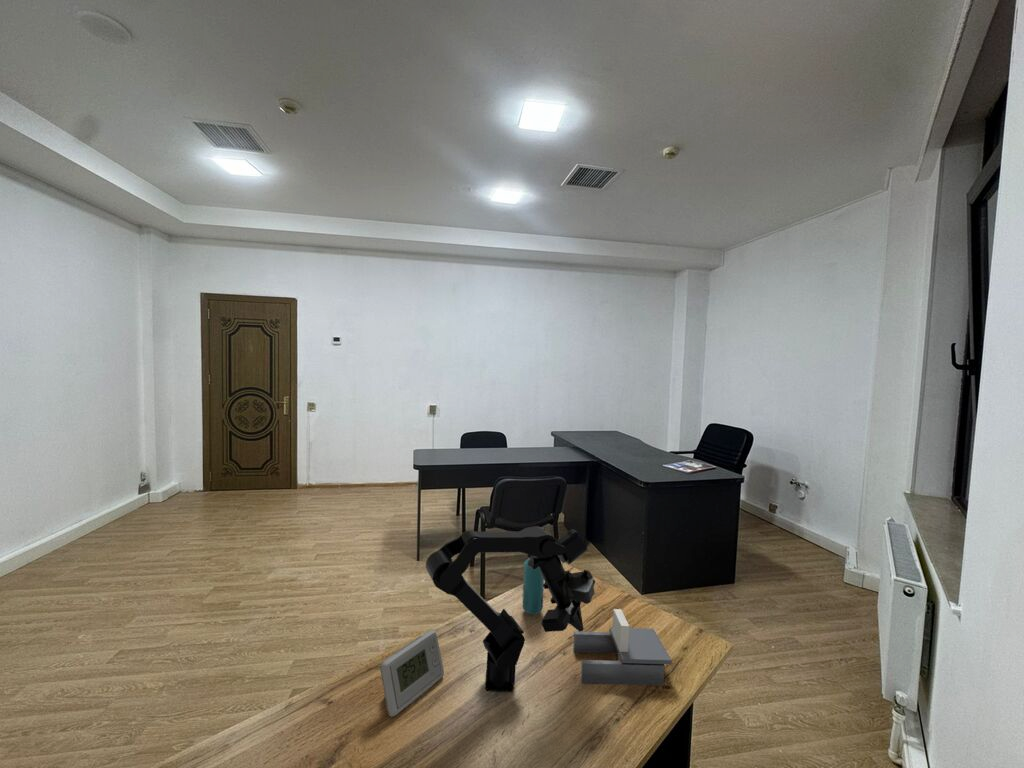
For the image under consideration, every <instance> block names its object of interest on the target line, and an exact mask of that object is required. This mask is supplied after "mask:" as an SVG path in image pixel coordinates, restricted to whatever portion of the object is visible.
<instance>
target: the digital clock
mask: <svg viewBox="0 0 1024 768" xmlns="http://www.w3.org/2000/svg"><path fill="white" fill-rule="evenodd" d="M379 668H380V676H381V681H382V687H383V693H384V699H385V704H386V710H387V714H388V716H389V717H391V718H393V717H395V716H396V715H398V714H399V713H400V712H402V710H405V709H406V708H407V707H409V706H410V705H411V704H412V703H413V702H415V701H416V700H417V699H418V698H420V697H421V696H422V695H424V693H426V691H428V690H429V689H430V688H431V687H433V686H434V684H436V683H437V682H438V681H439V680H440V679H441V678H443V677H444V674H445V670H444V665H443V659H442V654H441V649H440V643H439V639H438V635H437V631H436V629H433V628H432V629H430V630H428V631H426V632H424V633H423V634H422V635H419V636H417V637H416V638H414V639H412V641H409V643H407V644H406V645H404V646H402V647H401V648H399V649H398V650H396V651H395V652H394V653H393V654H392V655H390V656H389V657H387V658H385V659H384V660H383V661H382V662H381V663H380V667H379ZM409 704H410V705H409ZM408 705H409V706H408ZM405 707H406V708H405ZM404 708H405V709H404Z"/></svg>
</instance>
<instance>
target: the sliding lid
mask: <svg viewBox="0 0 1024 768" xmlns="http://www.w3.org/2000/svg"><path fill="white" fill-rule="evenodd" d="M612 616H613V617H612V627H609V632H610V633H611V636H612V638H613V641H614V643H615V646H616V648H617V651H618V653H619V656H620V658H621V661H622V663H644V664H664V665H672V661H673V660H672V659H671V657H670V655H669V653H668V652H667V650H666V648H665V646H664V645H663V643H662V641H661V640H660V637H659V636H658V633H657V632H656V631H655V629H654V628H642V627H641V628H640V627H639V628H638V627H630V624H629V623H628V621H627V618H626V616H625V614H624V613H623V611H622V609H621V608H619V609H617V608H613V612H612Z"/></svg>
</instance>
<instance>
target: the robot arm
mask: <svg viewBox="0 0 1024 768" xmlns="http://www.w3.org/2000/svg"><path fill="white" fill-rule="evenodd" d="M587 552H588V546H587V544H586V543H585V541H584V540H583V538H582V537H581V536H580V535H579V533H578V531H577V530H576V529H574V528H572V529H570V530H569V531H568V532H567V533H566V534H564V535H563V536H561V537H559V539H556V538H555V537H554V536H553V535H552V534H550V533H549V532H547V531H546V530H545V529H544V528H542V527H541V526H538V525H537V526H536V525H535V526H534V525H533V526H529V527H524V528H523V529H521V530H519V531H474V530H470V529H469V530H465V531H464V532H463V533H462V534H461V535H459V536H458V537H457V538H454V539H453V540H450V541H448V542H446V543H445V544H443V545H442V546H441V547H440V548H439V549H437V551H434V552H433V553H431V554H430V555H429V557H427V560H426V562H425V569H426V571H427V573H428V576H429V577H430V579H431V581H432V583H433V585H434V586H435V587H436V588H437V589H438V590H440V591H442V592H444V593H445V594H447V595H450V596H453V597H455V598H456V599H457V600H458V601H459V602H460V603H461V604H462V605H463V606H464V607H466V608H467V609H468V611H469V612H470V613H471V614H472V615H473V616H475V618H476V619H477V620H479V622H480V623H481V624H482V625H483V626H485V628H486V629H487V630H489V632H488V634H487V635H486V636H485V637H484V638H483V640H482V643H483V647H484V649H486V651H487V652H486V653H487V654H486V655H487V656H486V669H485V683H484V690H485V692H508V693H509V692H513V691H514V684H515V683H516V666H517V664H518V663H519V659H520V656H521V653H522V650H523V647H524V645H525V641H526V638H525V636H524V632H525V630H523V628H522V627H521V626H520V625H519V623H518V622H517V621H516V620H515V618H514V617H513V616H512V615H510V614H509V612H508V611H506V609H505V608H503V609H502V610H501V612H498V611H496V610H495V609H494V608H493V607H492V606H491V605H490V604H489V603H488V602H487V600H486V599H485V598H483V597H482V595H480V594H479V592H478V591H476V589H475V588H474V587H473V586H472V585H471V584H470V583H469V582H467V580H466V578H464V576H463V574H464V573H465V572H466V571H467V569H468V568H469V566H470V565H471V562H473V559H474V558H475V557H476V556H477V555H479V554H481V553H482V554H484V553H485V554H487V553H488V554H491V553H492V554H493V553H498V554H499V553H521V554H522V553H523V554H526V555H527V556H528V555H531V556H530V560H529V563H528V566H529V567H530V568H532V569H536V568H537V567H538V568H539V570H540V572H541V574H542V576H543V578H544V585H543V589H544V590H547V589H548V591H549V592H550V595H551V597H550V603H551V604H556V606H555V608H554V609H548V610H547V611H546V613H545V614H544V616H543V618H542V620H541V623H540V624H541V626H542V629H543V630H544V632H545V633H551V632H552V633H553V632H563V631H565V630H566V629H567V628H568V625H569V626H570V625H571V627H573V628H574V629H575V630H577V631H579V632H584V622H583V618H582V617H583V616H582V610H581V609H582V608H581V605H582V603H583V604H586V605H588V604H590V603H591V602H592V599H593V597H594V596H595V594H596V593H595V584H596V580H595V579H594V576H593V574H592V573H591V571H590V570H587V569H584V570H583V571H577V572H571V571H570V570H565V568H564V566H563V564H564V563H567V564H568V565H570V564H572V563H573V562H574V561H576V560H577V559H578V558H580V557H581V556H582V555H583V556H584V554H585V553H587ZM454 556H457V557H456V558H455V559H454V560H453V559H452V558H453V557H454ZM562 563H563V564H562Z"/></svg>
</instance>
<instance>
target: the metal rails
mask: <svg viewBox="0 0 1024 768" xmlns="http://www.w3.org/2000/svg"><path fill="white" fill-rule="evenodd" d="M572 642H573V643H572V645H573V646H572V651H573V653H581V654H582V653H583V654H587V653H588V654H616V655H618V651H617V648H616V646H615V643H614V641H613V638H612V636H611V633H610V631H609V632H608V631H607V632H606V631H605V632H604V631H578V630H577V631H576V630H575V631H573V641H572ZM580 666H581V669H580V670H581V671H580V683H581V684H582V685H583V684H584V685H585V684H587V685H588V684H590V685H623V686H624V685H625V686H628V685H629V686H661V687H664V684H665V683H664V681H665V680H664V679H665V667H666V666H665V664H644V663H622V661H618V660H603V659H602V660H601V659H600V660H596V659H595V660H594V659H593V660H592V659H581V665H580Z"/></svg>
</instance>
